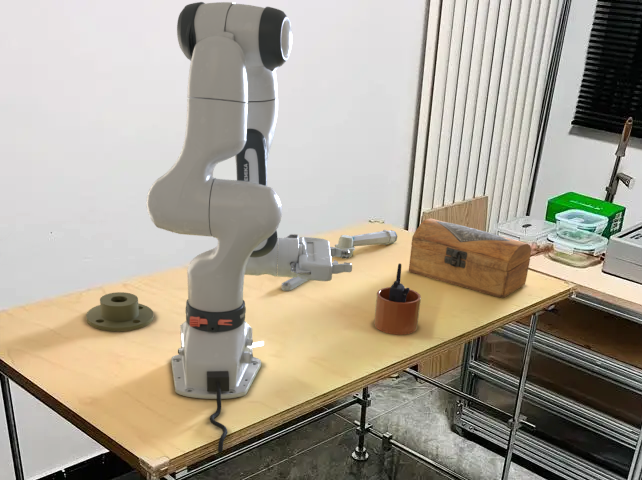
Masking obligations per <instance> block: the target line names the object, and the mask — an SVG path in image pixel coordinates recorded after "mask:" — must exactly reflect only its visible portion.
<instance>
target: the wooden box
mask: <svg viewBox="0 0 642 480" xmlns="http://www.w3.org/2000/svg"><path fill="white" fill-rule="evenodd" d="M410 247H411V248H410V254H409V255H410V256H409V265H408V272H409V273H411V274H415V275H420V276H422V277H426V278H430V279H433V280H436V281H439V282H443V283H446V284H449V285H454V286H458V287H462V288H466V289H469V290H473V291H474V292H478V293H482V294H486V295H488V296H492V297H496V298H499V299H504V298H506V297H507V296H509V295H511V294H513V293H514V292H516V291H517V290H519V289H520V288H521V287H523V286H525V285H526V282H527V278H528V272H529V268H530V263H531V256H532V247H531V245H530V244H529V243H527V242H525V241H521V240H517V239H513V238H509V237H505V236H502V235H498V234H495V233H492V232H488V231H485V230H480V229H476V228H473V227H469V226H466V225H461V224H456V223H452V222H447V221H442V220H438V219H434V218H431V217H430V218H426V219H424V220H423V221H422V222H420V224H419V226H418V227H417V228H416V230H415V231H414V233H413V235H412V237H411V246H410Z"/></svg>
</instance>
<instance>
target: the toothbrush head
mask: <svg viewBox="0 0 642 480" xmlns="http://www.w3.org/2000/svg"><path fill="white" fill-rule="evenodd" d="M397 240H398V234H397V232H396V231H395V230H392V229H390V230H387V229H383V230H381V231H374V232H368V233H363V234H357V235H347V234H341V235H340V237H339V238H338V242H337V243H336V244H335V245H334V247H336V248H339V249H343V250H349V253H350V254H349V258H352V257H353V256H354V255H353V254H354V251H355V250H356V247H363V246H364V247H366V246H376V245H379V246H380V245H385V246H388V245H390V244H394V243H396V242H397Z"/></svg>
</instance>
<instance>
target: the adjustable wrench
mask: <svg viewBox="0 0 642 480" xmlns="http://www.w3.org/2000/svg"><path fill="white" fill-rule="evenodd" d="M332 263H337V264H339V262H338V260H335V259H334V260H333V261H332ZM307 281H309V280H307V279H302V278H300V277H299V276H298V275H297V278H296V277H290V279H287V280H286V281H284V282H281V290H282V291H285V292H289V291H292V290H294V289H296V288H297V287H299V286H301V285H303V284H304V283H306V282H307Z"/></svg>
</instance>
